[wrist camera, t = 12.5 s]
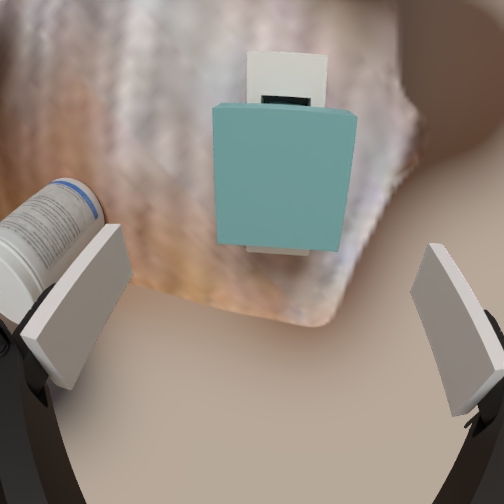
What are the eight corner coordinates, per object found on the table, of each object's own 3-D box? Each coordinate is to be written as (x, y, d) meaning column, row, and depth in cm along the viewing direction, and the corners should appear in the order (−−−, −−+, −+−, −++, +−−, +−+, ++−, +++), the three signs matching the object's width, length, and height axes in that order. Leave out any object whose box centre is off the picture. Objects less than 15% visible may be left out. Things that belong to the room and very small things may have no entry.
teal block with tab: (233, 199, 30) (217, 243, 23) (232, 96, 24) (212, 108, 18) (326, 205, 29) (337, 251, 23) (337, 103, 24) (357, 116, 17)
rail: (249, 235, 32) (245, 251, 29) (251, 53, 22) (247, 51, 19) (307, 239, 31) (309, 256, 29) (323, 57, 21) (327, 55, 19)
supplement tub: (41, 175, 30) (-44, 239, 18) (101, 174, 30) (11, 249, 17) (57, 242, 35) (-8, 316, 23) (114, 249, 35) (51, 338, 23)
